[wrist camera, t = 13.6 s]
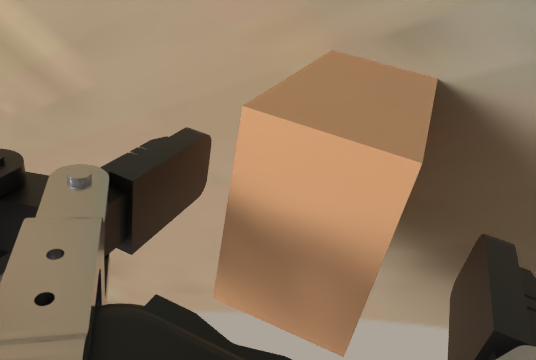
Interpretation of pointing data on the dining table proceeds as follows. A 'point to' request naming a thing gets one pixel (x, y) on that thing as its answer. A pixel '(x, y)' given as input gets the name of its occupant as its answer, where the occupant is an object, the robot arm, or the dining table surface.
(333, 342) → the block
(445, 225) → the dining table surface
